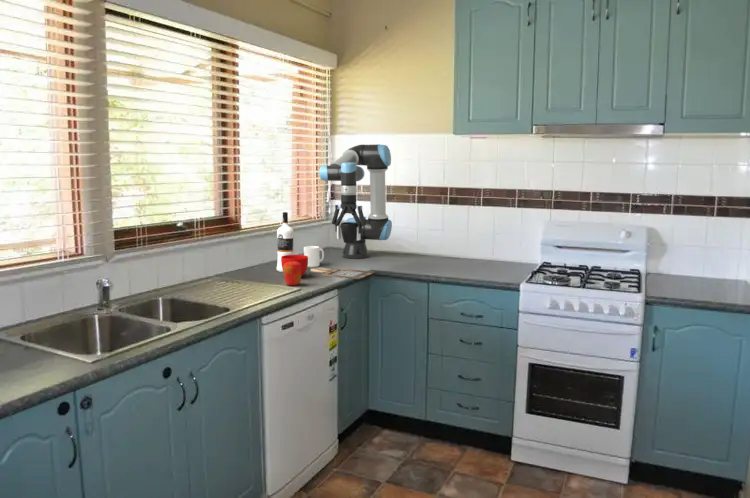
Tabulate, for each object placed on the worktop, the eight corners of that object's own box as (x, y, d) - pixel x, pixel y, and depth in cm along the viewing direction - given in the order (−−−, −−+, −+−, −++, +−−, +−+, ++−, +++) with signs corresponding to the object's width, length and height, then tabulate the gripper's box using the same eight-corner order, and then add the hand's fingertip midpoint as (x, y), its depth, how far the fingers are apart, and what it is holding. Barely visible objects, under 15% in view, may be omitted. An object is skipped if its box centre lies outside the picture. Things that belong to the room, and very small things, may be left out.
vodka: (298, 271, 318) (298, 212, 314) (284, 273, 311) (284, 213, 307) (286, 268, 324) (286, 211, 320) (272, 271, 317) (271, 212, 313)
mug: (349, 239, 316) (349, 221, 315) (360, 242, 306) (360, 223, 305) (334, 240, 312) (334, 221, 311) (345, 244, 302) (345, 224, 301)
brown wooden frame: (338, 269, 324) (338, 268, 324) (375, 272, 316) (375, 271, 316) (320, 275, 307) (320, 274, 307) (359, 279, 299) (359, 278, 298)
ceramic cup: (313, 273, 311) (313, 254, 310) (304, 280, 295) (303, 259, 293) (288, 272, 313) (288, 253, 312) (277, 279, 297) (277, 258, 295)
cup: (301, 265, 334) (300, 246, 333) (319, 263, 342) (319, 244, 340) (309, 267, 328) (309, 248, 326) (328, 265, 335) (328, 246, 334)
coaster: (317, 268, 327) (316, 266, 327) (335, 269, 322) (335, 268, 322) (306, 271, 317) (306, 270, 317) (325, 273, 312) (325, 272, 312)
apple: (280, 284, 285) (279, 258, 283) (296, 282, 290) (296, 257, 288) (288, 287, 278) (288, 261, 276) (305, 285, 283) (305, 259, 281)
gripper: (324, 194, 307) (324, 238, 310) (366, 195, 298) (366, 241, 301) (331, 193, 313) (331, 237, 317) (373, 194, 304) (372, 239, 308)
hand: (348, 239), depth 309 cm, fingers closed on mug, 10 cm apart
